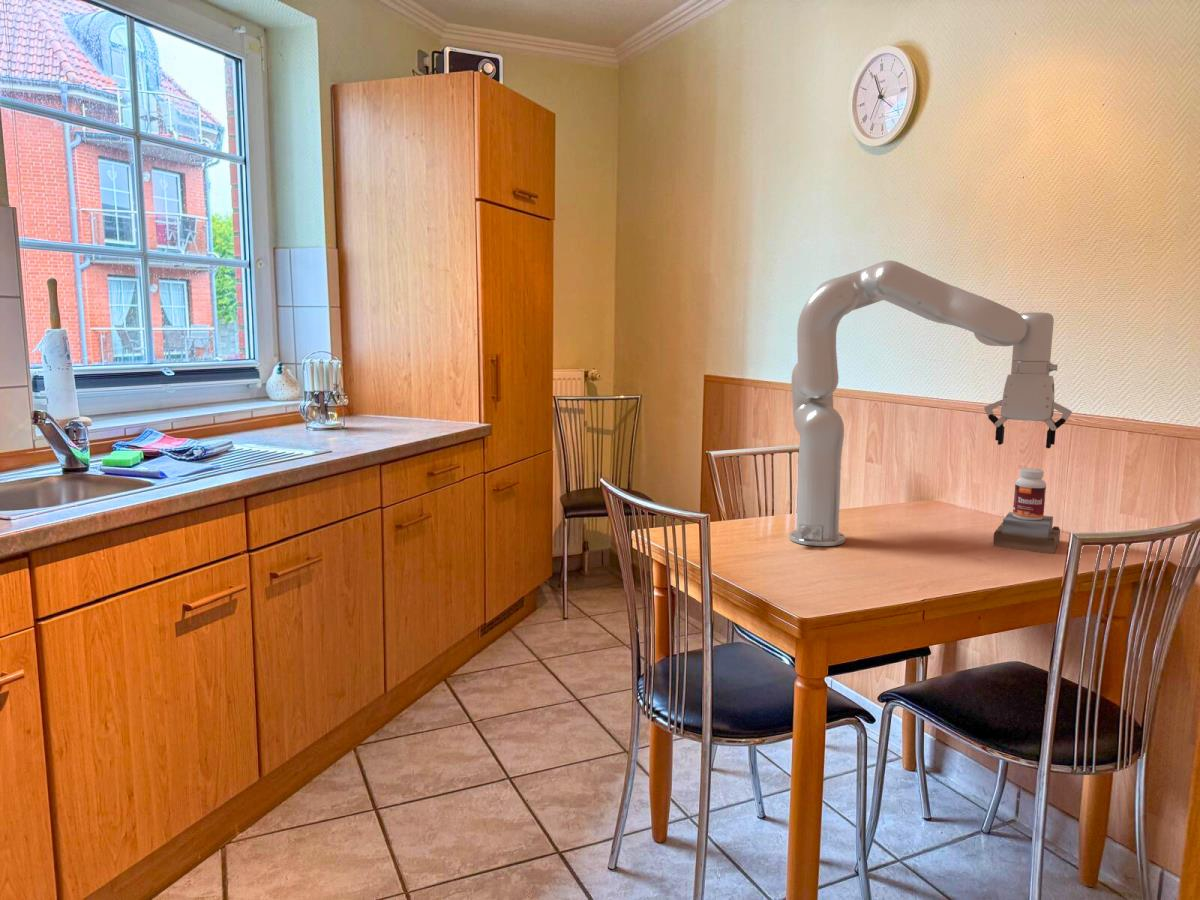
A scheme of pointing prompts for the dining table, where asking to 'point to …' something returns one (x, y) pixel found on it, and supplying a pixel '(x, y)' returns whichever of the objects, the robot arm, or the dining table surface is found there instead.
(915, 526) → the dining table surface
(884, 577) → the dining table surface
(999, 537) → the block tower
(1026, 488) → the pill bottle
